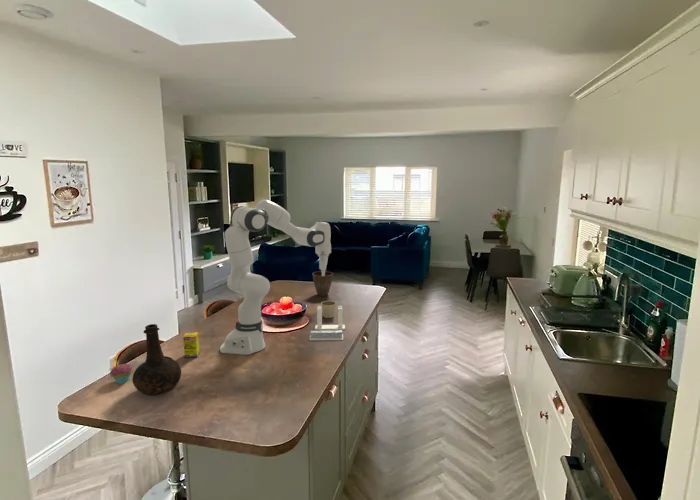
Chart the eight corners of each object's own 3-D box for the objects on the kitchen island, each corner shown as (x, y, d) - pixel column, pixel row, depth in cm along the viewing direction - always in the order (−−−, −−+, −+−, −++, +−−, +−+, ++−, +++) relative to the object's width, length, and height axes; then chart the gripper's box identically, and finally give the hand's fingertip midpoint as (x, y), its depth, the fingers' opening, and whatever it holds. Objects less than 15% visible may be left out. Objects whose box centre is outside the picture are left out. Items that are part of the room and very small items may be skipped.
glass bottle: (190, 381, 178) (185, 319, 173) (163, 403, 161) (157, 335, 156) (154, 377, 182) (148, 316, 177) (124, 398, 165) (116, 331, 160)
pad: (309, 340, 221) (309, 339, 221) (310, 334, 229) (310, 334, 229) (343, 340, 221) (343, 339, 221) (343, 334, 229) (343, 333, 229)
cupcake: (118, 387, 173) (115, 360, 171) (107, 382, 177) (103, 356, 175) (137, 379, 180) (135, 353, 178) (126, 374, 185) (123, 348, 182)
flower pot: (318, 317, 256) (318, 304, 255) (325, 313, 265) (324, 300, 263) (332, 319, 253) (332, 306, 251) (338, 315, 261) (338, 301, 260)
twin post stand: (315, 330, 236) (314, 309, 234) (315, 326, 242) (315, 305, 240) (344, 329, 236) (344, 308, 234) (344, 326, 242) (344, 305, 240)
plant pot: (325, 290, 316) (324, 270, 313) (337, 294, 305) (336, 273, 302) (308, 294, 307) (308, 273, 304) (320, 298, 295) (320, 277, 293)
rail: (310, 337, 224) (310, 332, 223) (311, 335, 227) (310, 330, 226) (342, 337, 224) (342, 332, 223) (342, 335, 227) (342, 330, 226)
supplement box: (184, 358, 200) (182, 337, 198) (187, 353, 206) (185, 332, 204) (197, 357, 201) (195, 336, 199) (199, 352, 207) (198, 331, 205)
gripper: (328, 253, 224) (328, 278, 227) (329, 246, 244) (329, 269, 247) (316, 253, 224) (317, 278, 227) (318, 246, 244) (319, 269, 247)
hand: (323, 273), depth 237 cm, fingers open, 8 cm apart
